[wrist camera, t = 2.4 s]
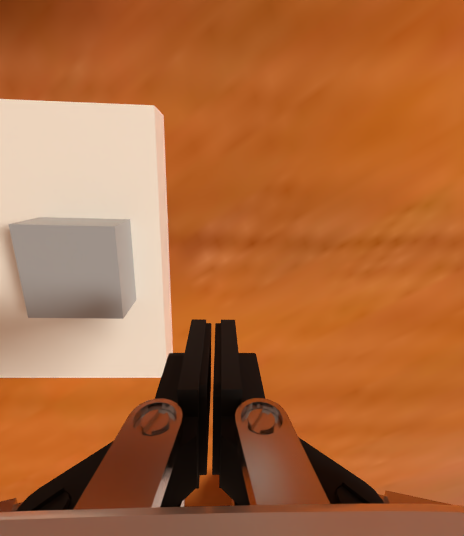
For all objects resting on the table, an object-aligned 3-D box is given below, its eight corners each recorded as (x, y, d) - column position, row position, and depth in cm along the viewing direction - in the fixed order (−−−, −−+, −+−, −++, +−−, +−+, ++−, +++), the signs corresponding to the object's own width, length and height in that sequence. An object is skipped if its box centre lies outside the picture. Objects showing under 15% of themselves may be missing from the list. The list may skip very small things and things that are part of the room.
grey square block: (40, 217, 19) (8, 224, 16) (130, 219, 19) (114, 226, 17) (54, 298, 21) (28, 317, 18) (136, 299, 21) (123, 318, 18)
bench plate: (-71, 106, 20) (-121, 93, 17) (163, 115, 20) (154, 105, 17) (-6, 355, 26) (-35, 377, 23) (172, 355, 26) (167, 377, 23)
